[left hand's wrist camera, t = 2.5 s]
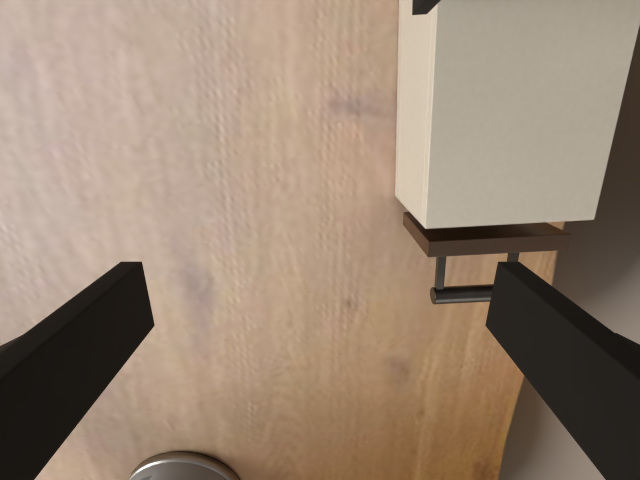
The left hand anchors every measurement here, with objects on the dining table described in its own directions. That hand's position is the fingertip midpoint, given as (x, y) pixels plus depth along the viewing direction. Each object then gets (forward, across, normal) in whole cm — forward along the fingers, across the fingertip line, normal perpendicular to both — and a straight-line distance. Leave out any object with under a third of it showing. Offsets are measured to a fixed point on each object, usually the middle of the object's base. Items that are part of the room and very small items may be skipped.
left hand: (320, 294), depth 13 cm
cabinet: (+20, -12, -8) cm, 25 cm away
